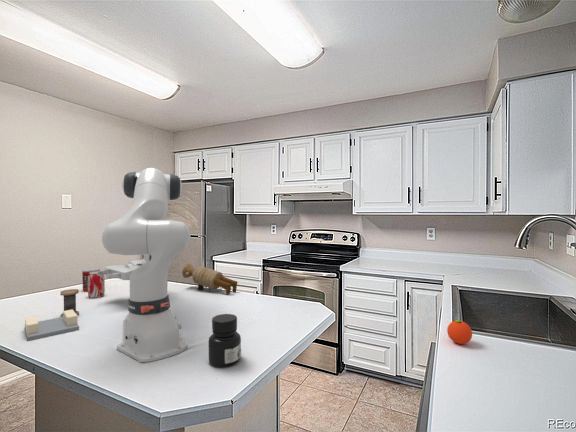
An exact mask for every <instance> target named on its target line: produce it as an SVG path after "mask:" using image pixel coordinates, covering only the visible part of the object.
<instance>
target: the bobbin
mask: <svg viewBox="0 0 576 432" xmlns="http://www.w3.org/2000/svg"><path fill="white" fill-rule="evenodd" d="M77 294H80V289H78V288H74V289H73V288H72V289H65V290H61V291H60V294H59V295H60V296H63V311H67V310H72V309H73V310H74V312H75V313H76V315H78V316H80V311H78V310H77ZM60 317H63V312H62V313H61V314H60Z"/></svg>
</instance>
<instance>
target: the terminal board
mask: <svg viewBox="0 0 576 432" xmlns="http://www.w3.org/2000/svg"><path fill="white" fill-rule="evenodd" d="M62 313H63V317H61V316H59V317H54V318H50V319H44V320H40V321H38V317H37V315H35V316H29V317H24V321H25V322H24V323H25V324H24V329H25V335H26V339H27V341H33V340H37V339H38V340H39V339H42V338H47V337H53V336H57V335H62V334H65V333H70V332H74V331H75V332H76V331H80V326H79V324H78V316H77V315H76V313H75V312H74V310H73V309H72V310H67V311H64V310H63V311H62Z"/></svg>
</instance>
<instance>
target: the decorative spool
mask: <svg viewBox="0 0 576 432" xmlns="http://www.w3.org/2000/svg"><path fill="white" fill-rule="evenodd" d="M181 274H182V277H183V278H185V279H188V278H191V277H192V280H193V282H194V283H195V284H197V285H198V286H197V290H199V291H201V290H204V288H208V290H209V291H210V290H213V291H216V290H218V289H219V288H222V289H223V290H225V291H226V292H225V295H226V296H229V295H230V294H231V289H232V291H233V292H232V293H236V292H237V287H238V281H237V280H233V279H231V278H229V277H227V276H224V275H223V272H221V271H217V270H214V269H211V268H210V267H209V268H208V267H205V266H203V265H201V266H198V267H196V268H194V266H193V264H192V263H187V264H185V266H183V269H182V272H181Z"/></svg>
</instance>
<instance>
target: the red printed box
mask: <svg viewBox="0 0 576 432" xmlns="http://www.w3.org/2000/svg"><path fill="white" fill-rule="evenodd" d="M100 269H101V268H99V267H92V268H91V267H90V268H86V269H85V268H84V269H82V273H81V274H82V291H83V292H87V293H88V276H89V273H90V272H95V271H101V270H100Z"/></svg>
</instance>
